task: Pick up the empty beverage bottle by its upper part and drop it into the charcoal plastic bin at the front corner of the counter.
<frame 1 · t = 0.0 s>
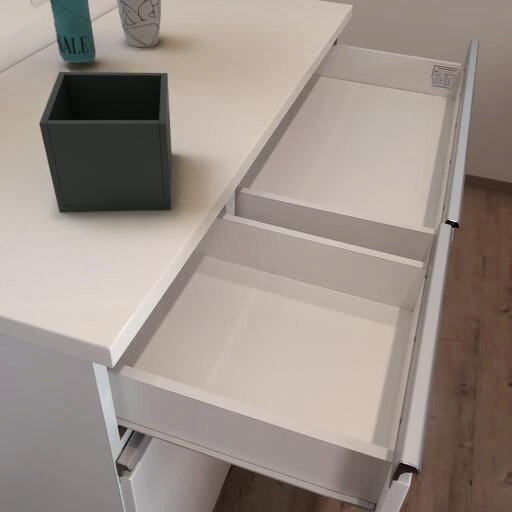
bin: (119, 180, 73), on the table
beverage bottle: (79, 65, 100), on the table
mug: (139, 40, 111), on the table
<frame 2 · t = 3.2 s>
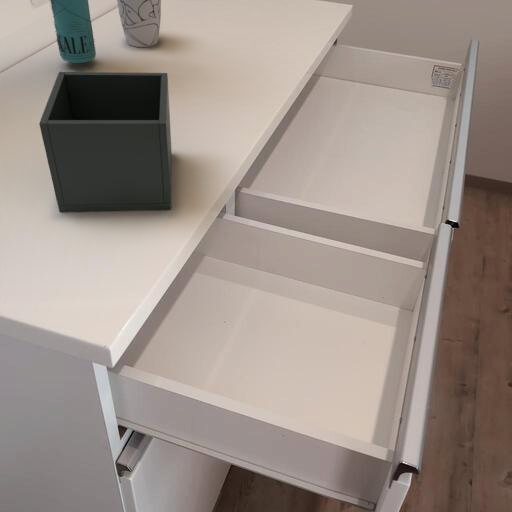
beverage bottle: (80, 65, 100), on the table, touching gripper
everything else where it was.
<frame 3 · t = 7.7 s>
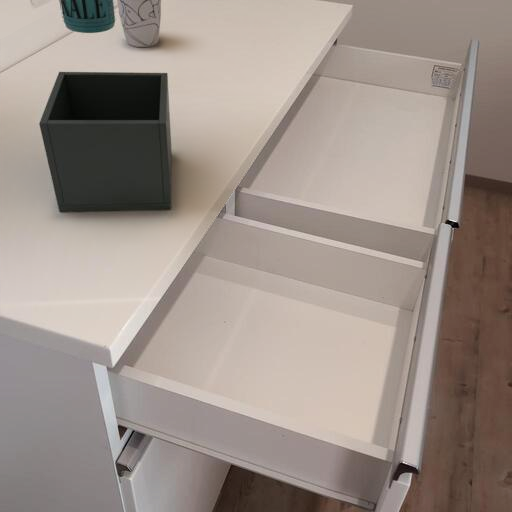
beverage bottle: (92, 38, 69), point 15 cm above the table, touching gripper
everything else where it was.
when the fingers open (16 cm above the table, at t = 12.5 s): beverage bottle stays where it is, resting on bin.
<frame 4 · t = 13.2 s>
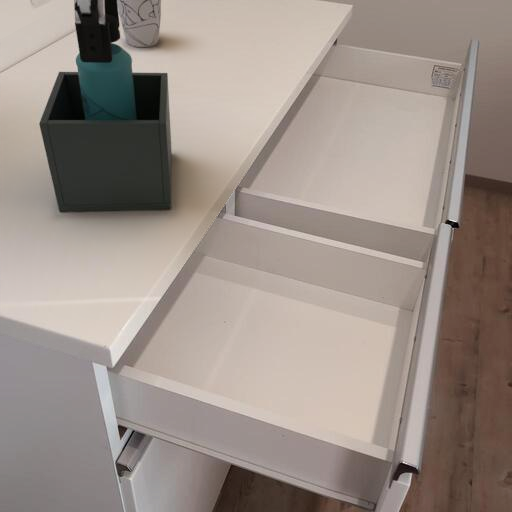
hand: (101, 43, 61), 18 cm above the table, tool pointing down, fingers open, 9 cm apart
beverage bottle: (118, 175, 72), point 1 cm above the table, touching bin
everything else where it was.
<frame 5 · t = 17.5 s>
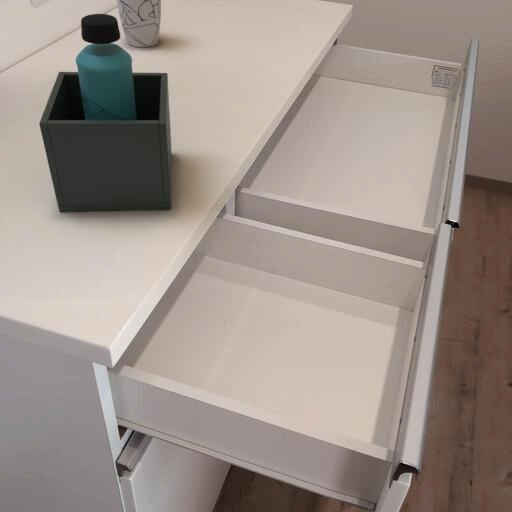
nothing on the table moved.
at the end: beverage bottle inside the target area in the bin (0.1 cm from its centre), point 0.8 cm above the bin's base; the gripper is holding nothing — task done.
